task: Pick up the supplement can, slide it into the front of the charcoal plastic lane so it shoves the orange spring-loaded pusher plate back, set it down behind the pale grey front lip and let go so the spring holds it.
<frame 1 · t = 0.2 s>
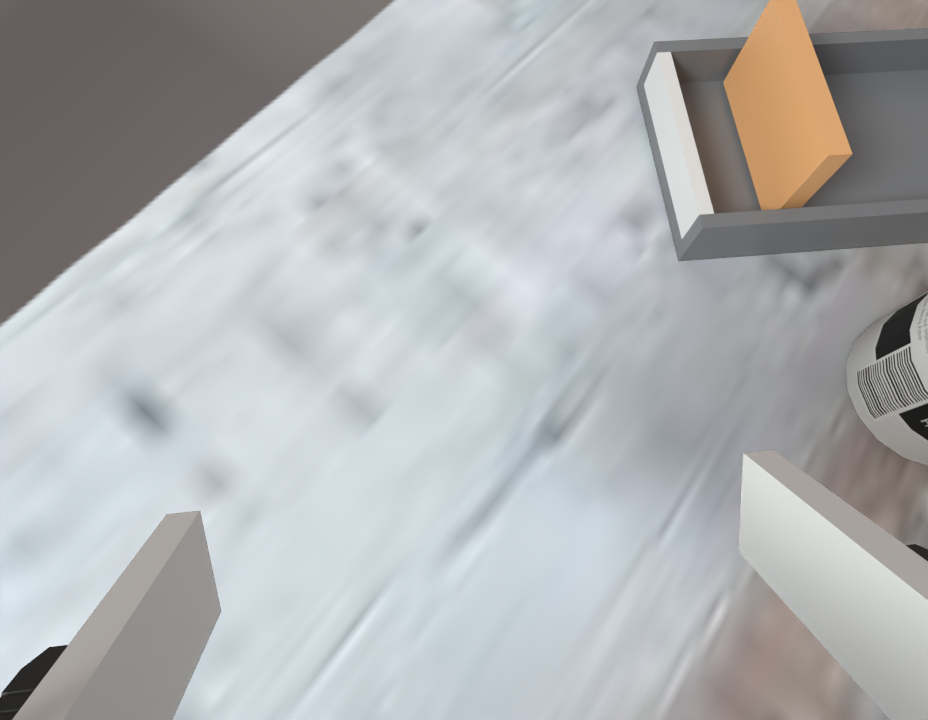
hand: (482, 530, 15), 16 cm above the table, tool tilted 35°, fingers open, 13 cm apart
supplement can: (911, 394, 34), on the table
pusher: (806, 111, 34), point 4 cm above the table, slide at 0.0 cm
pusher lane: (862, 155, 39), on the table
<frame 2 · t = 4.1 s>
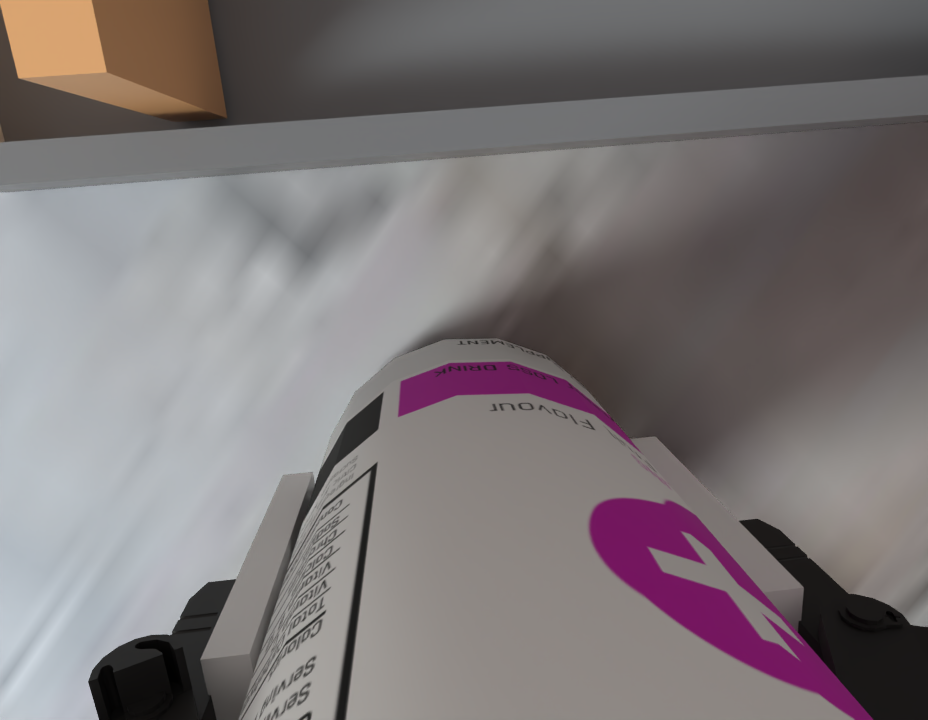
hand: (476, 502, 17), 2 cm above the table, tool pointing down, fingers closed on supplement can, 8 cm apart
supplement can: (468, 462, 19), on the table, touching gripper
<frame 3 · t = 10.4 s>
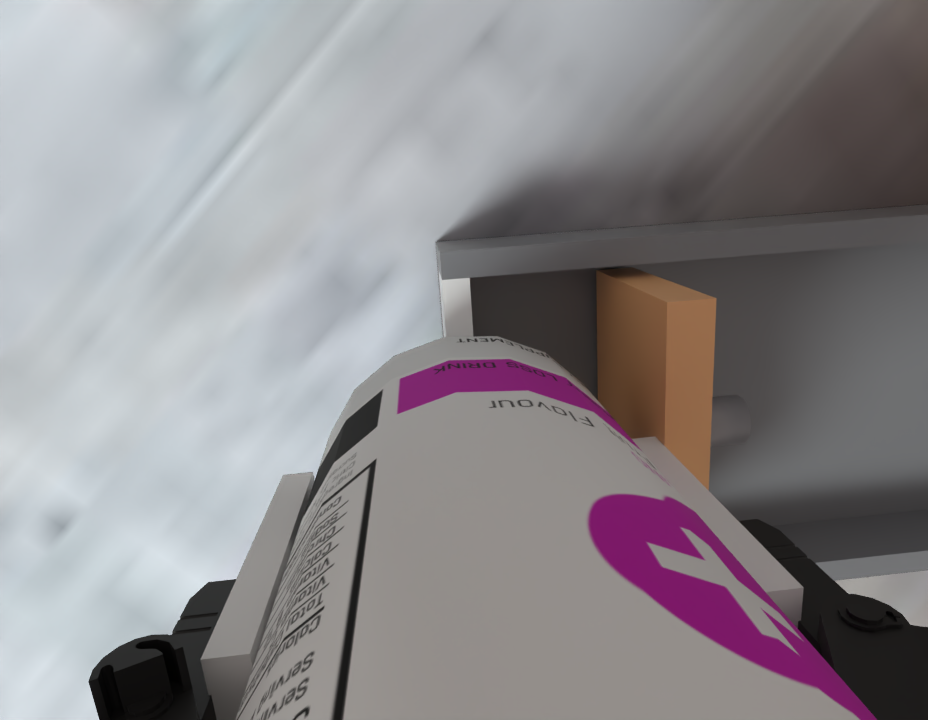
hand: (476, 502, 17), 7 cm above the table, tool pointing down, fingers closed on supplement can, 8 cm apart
supplement can: (467, 460, 19), point 4 cm above the table, touching gripper
pusher: (693, 440, 19), point 4 cm above the table, slide at 0.4 cm, touching gripper
pusher lane: (792, 381, 24), on the table
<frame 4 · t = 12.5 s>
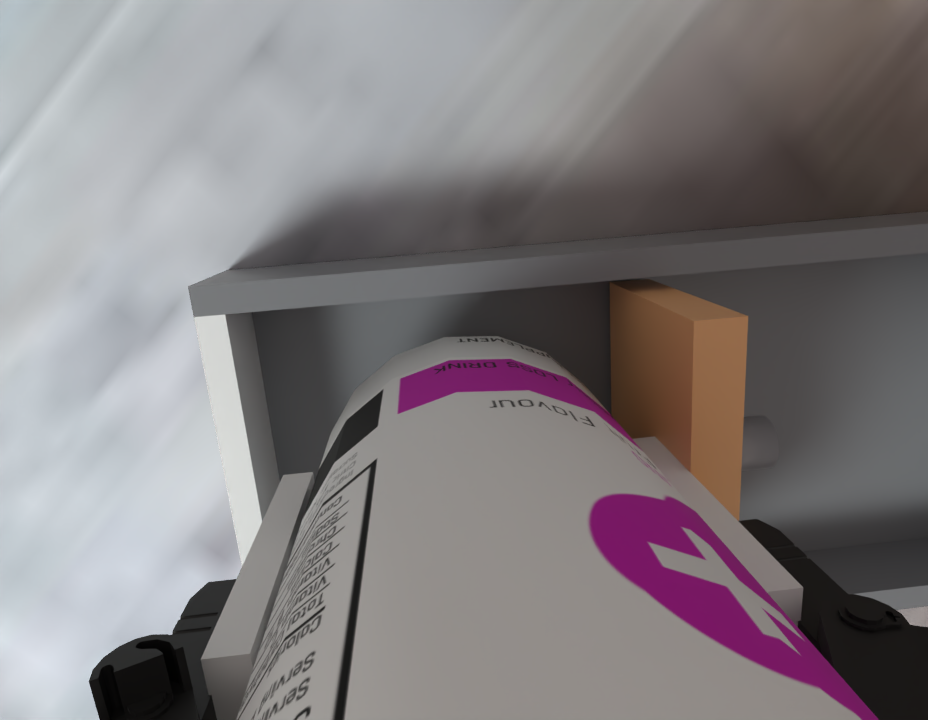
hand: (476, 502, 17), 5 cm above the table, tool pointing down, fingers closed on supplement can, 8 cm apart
supplement can: (467, 460, 19), point 3 cm above the table, touching gripper
pusher: (717, 466, 18), point 4 cm above the table, slide at 6.9 cm, touching gripper
pusher lane: (637, 416, 22), on the table
when the fingers open (5 cm above the table, at t = 13.0 s): supplement can moves 2 cm, resting on pusher, pusher lane.
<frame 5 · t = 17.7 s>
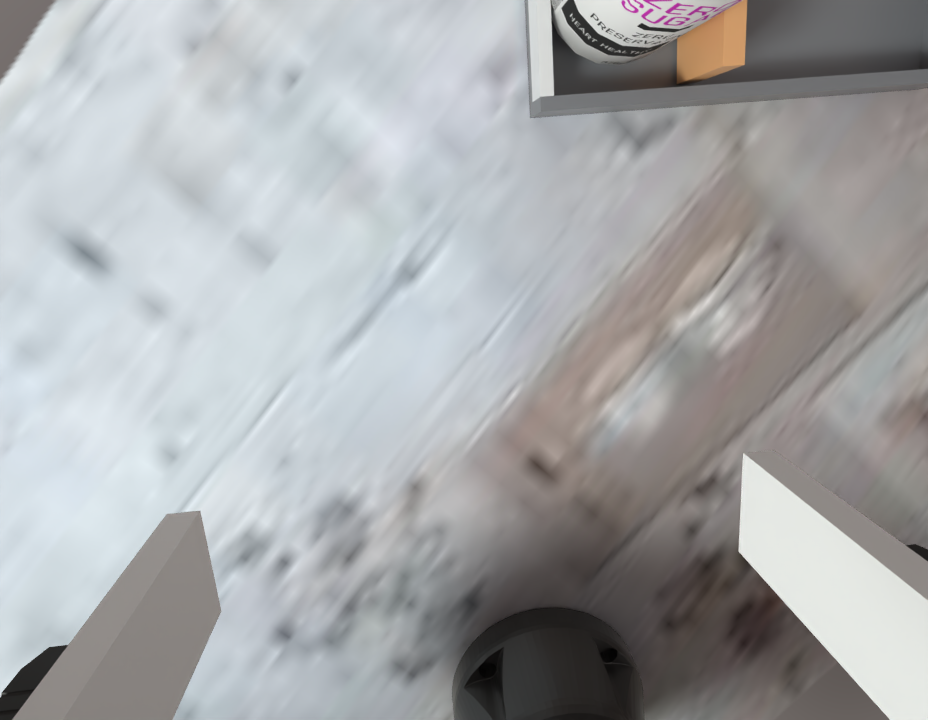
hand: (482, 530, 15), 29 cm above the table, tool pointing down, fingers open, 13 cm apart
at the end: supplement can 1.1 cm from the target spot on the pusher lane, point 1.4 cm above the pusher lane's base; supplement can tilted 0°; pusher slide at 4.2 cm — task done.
